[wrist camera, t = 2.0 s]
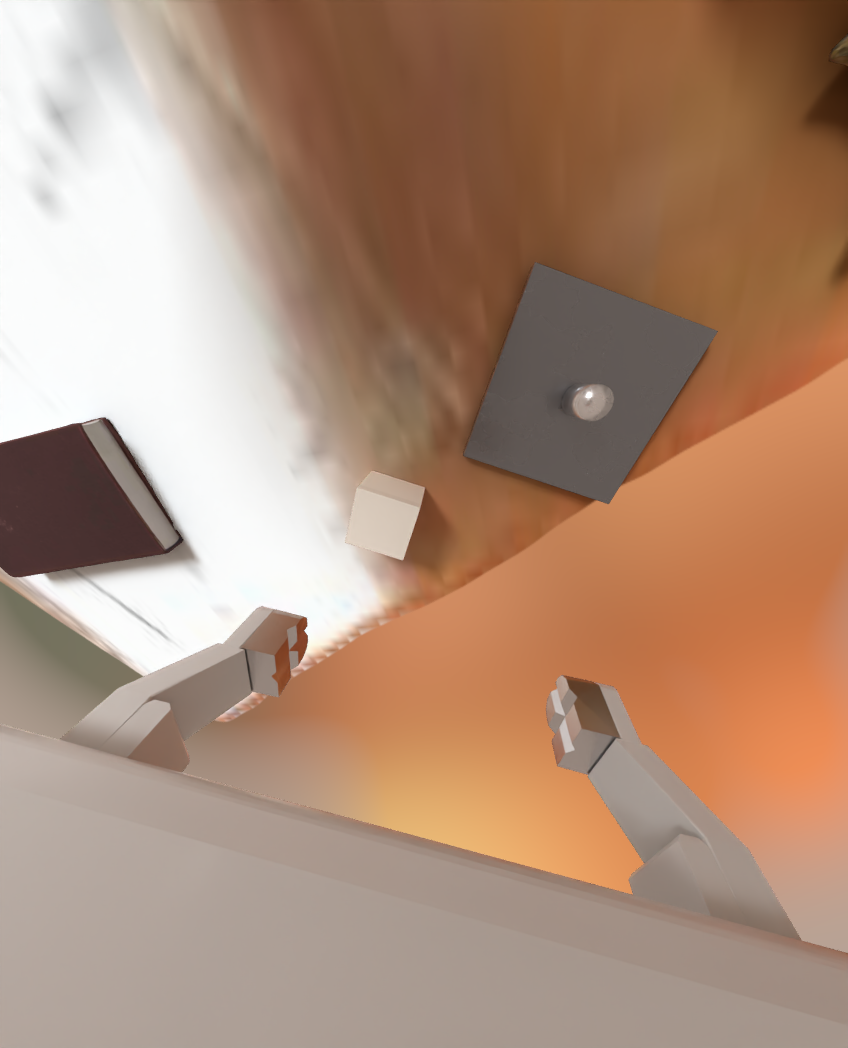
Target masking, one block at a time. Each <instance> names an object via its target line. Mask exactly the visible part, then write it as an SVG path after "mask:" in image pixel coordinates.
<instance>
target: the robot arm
mask: <svg viewBox="0 0 848 1048" xmlns="http://www.w3.org/2000/svg"><path fill="white" fill-rule="evenodd" d="M306 627H307V618H306V617H303V616H299V615H295V614H291V613H288V612H284V611H280V610H275V609H271V608H267V607H263V606H261V607H259V608H257V609H256V610H255V611H254V612H253V613H252V614H251V615H250V616H249V617H248V618H247V619H246V620H245V621H244V622H243V623H242V624H241V625H240V626H239V628H238V629H237V630H236V631H235V632H234V633H233V634H232V635H231V636H230V637H229V638H228V639H227V640H226V641H225V642H224V643H223V644H219V643H218V644H215V645H213V646H211V647H209V648H206V649H204V650H202V651H200V652H197V653H195V654H193V655H191V656H189V657H186V658H184V659H182V660H180V661H177V662H175V663H173V664H171V665H169V666H166V667H164V668H162V669H160V670H157V671H155V672H153V673H151V674H149V675H146V676H144V677H142V678H140V679H137V680H135V681H133V682H131V683H128V684H126V685H124V686H122V687H120V688H118V689H117V690H116V691H114V692H113V693H112V694H111V695H110V696H109V697H107V698H106V699H105V700H104V701H103V702H102V703H101V704H99V705H98V706H97V707H96V708H95V709H94V710H92V711H91V712H90V713H89V714H88V715H87V716H86V717H84V718H83V719H82V720H81V721H80V722H79V723H78V724H76V725H75V726H74V727H73V728H72V729H71V730H70V731H68V732H67V733H66V734H65V735H64V736H63V737H62V738H60V739H55V738H51V737H48V736H44V735H40V734H36V733H33V732H29V731H26V730H21V729H18V728H14V727H10V726H7V725H3V724H0V1048H848V953H845V952H842V951H838V950H834V949H831V948H827V947H823V946H820V945H816V944H812V943H808V942H805V941H802V940H801V938H800V937H799V935H798V933H797V931H796V930H795V928H794V927H793V924H792V923H791V921H790V920H789V918H788V916H787V914H786V912H785V911H784V909H783V907H782V906H781V904H780V902H779V900H778V899H777V897H776V895H775V894H774V892H773V890H772V888H771V887H770V885H769V883H768V882H767V880H766V878H765V876H764V875H763V873H762V871H761V870H760V868H759V866H758V864H757V863H756V861H755V859H754V857H753V856H752V854H751V852H750V851H749V849H748V848H747V847H746V846H745V845H744V844H743V843H742V842H741V841H740V840H739V839H738V838H737V837H736V836H735V835H734V834H733V833H732V832H731V831H730V830H729V829H728V828H727V827H726V826H725V825H724V824H723V823H722V821H720V820H719V819H718V817H717V816H716V815H714V814H713V812H712V811H711V810H710V809H709V808H708V807H707V806H706V805H705V804H704V803H703V802H702V801H701V800H700V799H699V798H698V797H697V796H696V795H695V794H694V793H693V792H692V791H691V790H690V789H689V788H688V787H687V786H686V785H685V784H684V783H683V782H682V781H681V779H679V777H678V776H677V775H676V774H675V773H674V772H673V771H672V770H671V769H670V768H669V767H668V766H667V765H666V764H665V763H664V762H663V761H662V760H661V759H660V758H659V757H658V756H657V755H656V754H655V753H654V752H653V751H652V750H651V749H650V748H649V747H648V746H647V745H643V744H642V743H641V741H640V739H639V737H638V735H637V732H636V730H635V728H634V726H633V724H632V722H631V720H630V717H629V715H628V713H627V711H626V709H625V707H624V705H623V702H622V700H621V698H620V696H619V694H618V692H617V690H616V689H615V688H614V687H613V686H609V685H605V684H600V683H594V682H592V681H587V680H583V679H578V678H573V677H569V676H564V675H561V676H560V677H558V679H557V681H556V686H557V689H556V690H554V691H552V692H550V694H549V697H548V699H547V705H546V714H547V721H548V725H549V727H550V728H551V729H552V731H553V732H554V733H555V736H554V738H553V739H552V745H553V749H554V753H555V758H556V763H557V766H559V767H563V768H566V769H569V770H573V771H576V772H580V773H584V774H588V778H589V779H590V781H591V782H592V784H593V786H594V787H595V789H596V790H597V792H598V793H599V795H600V796H601V798H602V799H603V801H604V803H605V804H606V806H607V807H608V808H609V810H610V812H611V813H612V815H613V816H614V818H615V819H616V821H617V822H618V824H619V825H620V827H621V828H622V830H623V832H624V833H625V835H626V836H627V838H628V839H629V841H630V842H631V844H632V845H633V847H634V848H635V850H636V852H637V853H638V855H639V856H640V858H641V859H642V861H643V862H644V864H643V865H642V866H641V867H640V868H638V869H637V870H636V871H635V872H633V873H632V875H631V876H630V878H629V882H630V886H631V889H632V893H633V895H632V894H628V893H624V892H620V891H617V890H613V889H609V888H605V887H602V886H598V885H595V884H591V883H587V882H583V881H580V880H576V879H572V878H569V877H565V876H561V875H557V874H554V873H550V872H546V871H543V870H539V869H536V868H532V867H528V866H525V865H520V864H517V863H513V862H510V861H506V860H502V859H499V858H495V857H491V856H488V855H484V854H480V853H477V852H473V851H469V850H465V849H462V848H458V847H454V846H450V845H447V844H443V843H440V842H436V841H432V840H428V839H425V838H421V837H417V836H414V835H410V834H406V833H403V832H399V831H395V830H392V829H388V828H384V827H381V826H377V825H373V824H369V823H366V822H362V821H358V820H355V819H351V818H347V817H344V816H340V815H336V814H333V813H329V812H325V811H322V810H318V809H314V808H310V807H306V806H303V805H299V804H296V803H292V802H288V801H285V800H281V799H277V798H273V797H270V796H266V795H262V794H258V793H255V792H251V791H247V790H244V789H240V788H236V787H233V786H229V785H225V784H222V783H218V782H214V781H211V780H206V779H203V778H199V777H196V776H192V775H188V774H185V773H182V772H183V771H184V769H185V768H186V766H187V765H188V764H189V761H190V760H189V754H188V751H187V748H186V746H185V743H184V741H185V740H186V739H188V738H189V737H190V736H192V735H193V734H195V733H196V732H197V731H199V730H200V729H202V728H203V727H204V726H206V725H207V724H209V723H210V722H212V721H213V720H214V719H216V718H217V717H219V716H220V715H222V714H223V713H224V712H226V711H227V710H229V709H230V708H231V707H233V706H234V705H236V704H237V703H238V702H240V701H241V700H243V699H244V698H246V697H247V696H248V695H250V694H251V693H252V692H257V693H261V694H266V695H271V696H275V697H279V696H280V695H281V693H282V691H283V690H284V688H285V686H286V685H287V683H288V682H289V680H290V678H291V671H290V670H291V669H293V668H295V667H296V666H298V665H299V664H300V662H301V660H302V658H303V656H304V654H305V651H306V648H307V643H308V635H307V634H306V633H305V631H304V630H305V629H306ZM251 691H252V692H251Z"/></svg>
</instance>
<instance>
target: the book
mask: <svg viewBox="0 0 848 1048" xmlns="http://www.w3.org/2000/svg"><path fill="white" fill-rule="evenodd" d="M182 541H183V539H182V537H181V536H180V534H179V532H178V531H177V530H175V529H174V526H173V522H172V521H171V519H170V517H169V516H168V514H167V513H166V511H165V509H164V508H163V506H162V504H161V503H160V501H159V500H158V498H157V496H156V495H155V493H154V491H153V489H152V487H151V486H150V484H149V483H148V481H147V479H146V478H145V476H144V475H143V473H142V472H141V470H140V468H139V467H138V465H137V464H136V462H135V460H134V458H133V456H132V455H131V454H130V452H129V451H128V450H127V448H126V447H125V445H124V443H123V441H122V440H121V438H120V437H119V435H118V433H117V432H116V430H115V429H114V428H113V427H112V425H111V424H110V423H109V422H108V420H107V419H106V418H105V417H104V418H99V419H94V420H90V421H87V422H84V423H76V424H70V425H67V426H64V427H60V428H56V429H52V430H49V431H45V432H41V433H38V434H34V435H30V436H26V437H22V438H18V439H14V440H10V441H6V442H2V443H0V567H1V568H2V569H3V570H4V571H5V572H6V573H8V574H9V575H10V576H12V577H24V576H31V575H36V574H43V573H49V572H54V571H60V570H66V569H72V568H78V567H84V566H91V565H97V564H102V563H108V562H114V561H123V560H128V559H135V558H142V557H148V556H153V555H161V554H165V553H169V552H170V551H171V550H173V549H174V548H175V547H176V546H178V545H179V544H180V543H182Z"/></svg>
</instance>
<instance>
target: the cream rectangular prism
mask: <svg viewBox="0 0 848 1048" xmlns="http://www.w3.org/2000/svg"><path fill="white" fill-rule="evenodd" d="M424 490H425V487H422V486H419V485H416V484H413V483H410V482H407V481H403V480H400V479H397V478H394V477H391V476H388V475H385V474H382V473H379V472H376V471H373V470H372V471H371V472H370V473H369V474H368V475H367V476H366V478H365V479H364V480H363V481H362V482H361V483H360V485H359V486H358V487H357V490H356V494H355V499H354V503H353V507H352V512H351V516H350V521H349V525H348V530H347V534H346V539H345V543H348V544H351V545H354V546H357V547H361V548H364V549H367V550H370V551H374V552H377V553H380V554H383V555H387V556H390V557H393V558H396V559H400V560H403V559H404V556H405V553H406V550H407V547H408V544H409V541H410V538H411V535H412V532H413V529H414V526H415V523H416V520H417V517H418V513H419V510H420V507H421V503H422V499H423V495H424Z"/></svg>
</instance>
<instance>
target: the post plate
mask: <svg viewBox="0 0 848 1048" xmlns="http://www.w3.org/2000/svg"><path fill="white" fill-rule="evenodd" d="M717 332H718V331H716V330H713V329H711V328H708V327H706V326H703V325H700V324H698V323H695V322H692V321H690V320H687V319H684V318H682V317H679V316H676V315H674V314H671V313H669V312H666V311H663V310H661V309H658V308H655V307H653V306H650V305H647V304H645V303H642V302H639V301H637V300H634V299H631V298H629V297H626V296H624V295H621V294H618V293H616V292H613V291H610V290H608V289H605V288H602V287H600V286H597V285H594V284H592V283H589V282H587V281H584V280H581V279H579V278H576V277H573V276H571V275H568V274H565V273H563V272H560V271H557V270H555V269H552V268H549V267H547V266H544V265H542V264H539V263H536V262H535V263H534V265H533V266H532V267H531V269H530V272H529V275H528V278H527V280H526V283H525V286H524V288H523V291H522V294H521V297H520V299H519V302H518V305H517V307H516V310H515V313H514V316H513V318H512V321H511V324H510V326H509V329H508V332H507V335H506V337H505V340H504V343H503V345H502V348H501V351H500V354H499V356H498V359H497V362H496V365H495V367H494V370H493V373H492V375H491V378H490V381H489V384H488V386H487V389H486V392H485V394H484V397H483V400H482V403H481V405H480V408H479V411H478V413H477V416H476V419H475V422H474V424H473V427H472V430H471V432H470V435H469V438H468V441H467V443H466V446H465V449H464V451H463V456H465V457H468V458H471V459H474V460H477V461H480V462H483V463H486V464H489V465H492V466H495V467H498V468H501V469H504V470H507V471H510V472H514V473H517V474H520V475H523V476H526V477H529V478H532V479H535V480H538V481H541V482H544V483H547V484H550V485H553V486H556V487H559V488H562V489H565V490H568V491H571V492H574V493H577V494H580V495H583V496H586V497H589V498H592V499H595V500H598V501H601V502H604V503H607V504H609V503H610V501H611V500H612V498H613V497H614V495H615V493H616V492H617V490H618V489H619V487H620V485H621V484H622V482H623V481H624V479H625V478H626V476H627V474H628V473H629V471H630V470H631V468H632V466H633V465H634V463H635V462H636V460H637V459H638V457H639V455H640V454H641V452H642V451H643V449H644V447H645V446H646V444H647V443H648V441H649V440H650V438H651V436H652V435H653V433H654V432H655V430H656V428H657V427H658V425H659V424H660V422H661V421H662V419H663V417H664V416H665V414H666V413H667V411H668V409H669V408H670V406H671V405H672V403H673V402H674V400H675V398H676V397H677V395H678V394H679V392H680V390H681V389H682V387H683V386H684V384H685V383H686V381H687V379H688V378H689V376H690V375H691V373H692V371H693V370H694V368H695V367H696V365H697V364H698V362H699V360H700V359H701V357H702V356H703V354H704V352H705V351H706V349H707V348H708V346H709V345H710V343H711V341H712V340H713V338H714V337H715V335H716V334H717Z"/></svg>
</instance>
